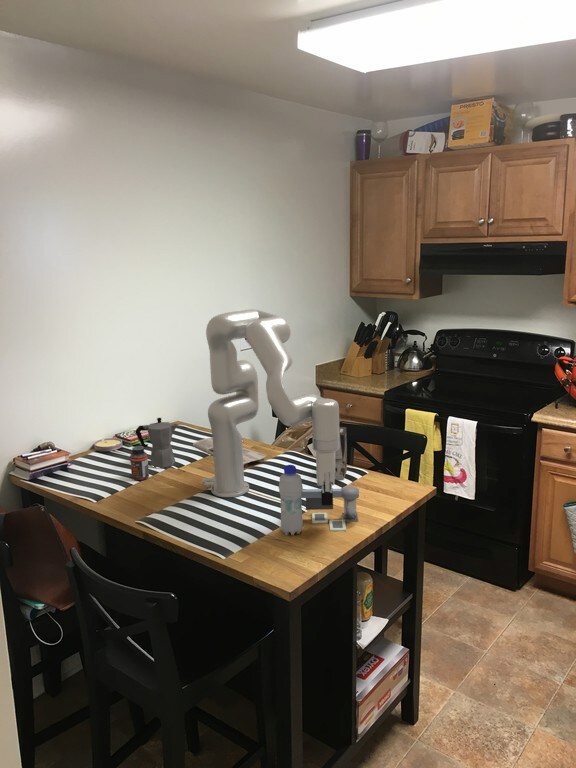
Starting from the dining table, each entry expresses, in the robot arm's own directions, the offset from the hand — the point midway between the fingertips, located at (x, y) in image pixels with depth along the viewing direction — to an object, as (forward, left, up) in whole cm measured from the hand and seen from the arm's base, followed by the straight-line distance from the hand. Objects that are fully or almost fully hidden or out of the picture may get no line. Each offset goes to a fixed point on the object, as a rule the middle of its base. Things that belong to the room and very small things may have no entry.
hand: (327, 504), depth 177 cm
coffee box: (+5, +39, -7) cm, 40 cm away
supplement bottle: (-64, +39, -7) cm, 75 cm away
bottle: (-10, -3, -7) cm, 13 cm away
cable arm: (-1, +5, -4) cm, 6 cm away
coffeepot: (-60, +52, -7) cm, 80 cm away
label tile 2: (+3, 0, -7) cm, 7 cm away
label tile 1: (-2, +5, -7) cm, 9 cm away
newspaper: (-35, +62, -8) cm, 72 cm away
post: (+7, +5, -7) cm, 11 cm away
